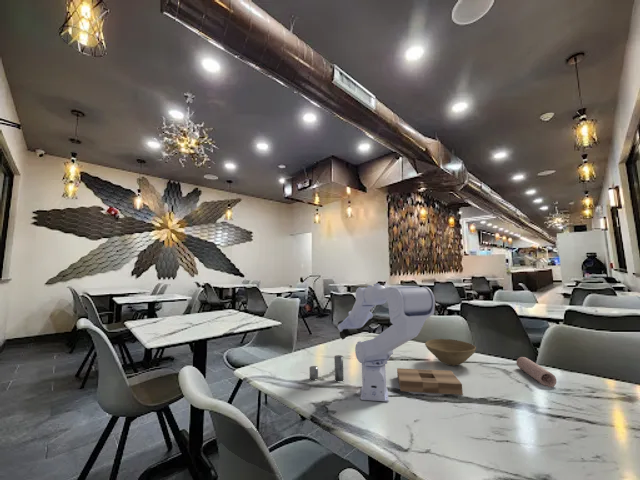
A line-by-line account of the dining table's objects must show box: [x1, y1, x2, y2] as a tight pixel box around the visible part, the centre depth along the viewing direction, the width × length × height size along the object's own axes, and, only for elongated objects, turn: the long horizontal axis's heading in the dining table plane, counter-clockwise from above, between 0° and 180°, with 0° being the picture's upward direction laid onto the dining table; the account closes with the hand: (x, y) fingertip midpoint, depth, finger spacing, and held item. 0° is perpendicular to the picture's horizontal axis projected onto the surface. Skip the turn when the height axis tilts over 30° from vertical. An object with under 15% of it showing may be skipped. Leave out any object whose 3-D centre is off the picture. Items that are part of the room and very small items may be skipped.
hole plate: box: [396, 367, 463, 395], centre depth 91 cm, size 12×18×3 cm, turn 79°
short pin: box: [309, 365, 319, 381], centre depth 99 cm, size 3×3×4 cm
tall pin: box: [333, 354, 345, 382], centre depth 97 cm, size 3×3×8 cm
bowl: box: [424, 338, 477, 367], centre depth 112 cm, size 18×18×8 cm
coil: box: [515, 356, 557, 388], centre depth 97 cm, size 5×5×18 cm
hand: (350, 333), depth 106 cm, fingers open, 7 cm apart
